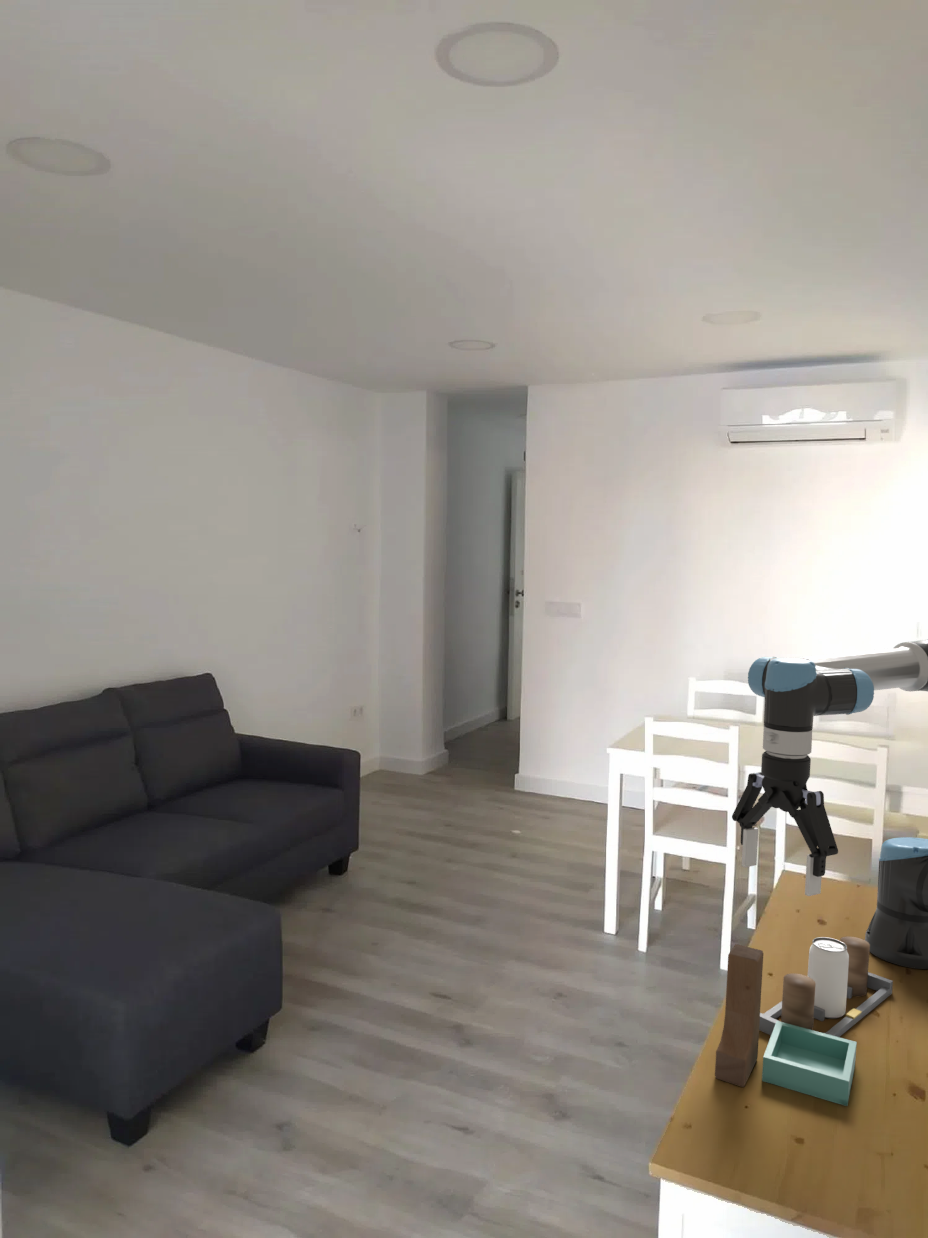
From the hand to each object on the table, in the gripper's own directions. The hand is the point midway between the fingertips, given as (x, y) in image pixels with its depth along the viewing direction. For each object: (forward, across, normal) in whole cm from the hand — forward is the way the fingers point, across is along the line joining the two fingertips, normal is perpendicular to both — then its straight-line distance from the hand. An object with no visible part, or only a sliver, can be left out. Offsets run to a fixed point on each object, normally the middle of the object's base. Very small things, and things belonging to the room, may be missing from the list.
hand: (779, 879), depth 148 cm
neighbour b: (+26, +2, +3) cm, 26 cm away
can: (+26, -1, +14) cm, 30 cm away
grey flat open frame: (+26, -1, +14) cm, 30 cm away
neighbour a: (+26, -4, +24) cm, 36 cm away
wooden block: (+26, +6, -14) cm, 30 cm away
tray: (+26, +12, -4) cm, 29 cm away
